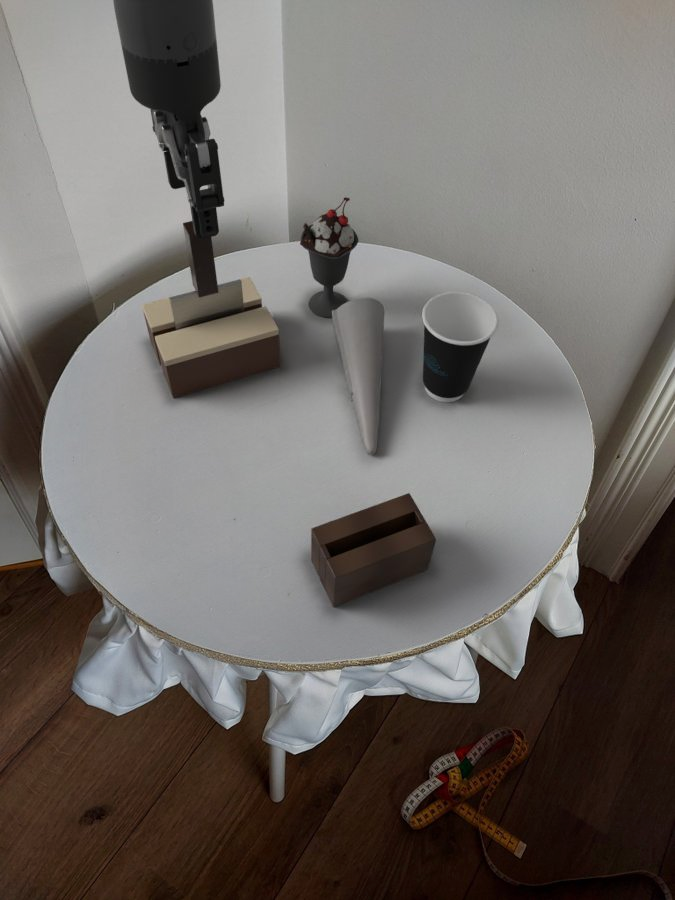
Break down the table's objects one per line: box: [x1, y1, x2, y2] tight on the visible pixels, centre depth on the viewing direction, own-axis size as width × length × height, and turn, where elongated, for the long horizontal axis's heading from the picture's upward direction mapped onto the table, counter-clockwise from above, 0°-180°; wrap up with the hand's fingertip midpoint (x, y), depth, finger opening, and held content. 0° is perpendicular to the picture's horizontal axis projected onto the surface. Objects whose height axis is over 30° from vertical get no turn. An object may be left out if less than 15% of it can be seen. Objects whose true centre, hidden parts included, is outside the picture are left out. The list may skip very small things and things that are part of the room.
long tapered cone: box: [331, 297, 386, 456], centre depth 82 cm, size 6×6×19 cm
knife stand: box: [310, 492, 437, 608], centre depth 68 cm, size 10×5×6 cm, turn 114°
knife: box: [168, 220, 244, 330], centre depth 79 cm, size 8×2×18 cm, turn 114°
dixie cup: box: [421, 291, 499, 403], centre depth 80 cm, size 8×8×11 cm
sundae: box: [299, 197, 359, 319], centre depth 86 cm, size 7×7×15 cm
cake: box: [141, 276, 281, 399], centre depth 84 cm, size 13×10×6 cm
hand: (193, 210), depth 70 cm, fingers open, 8 cm apart
